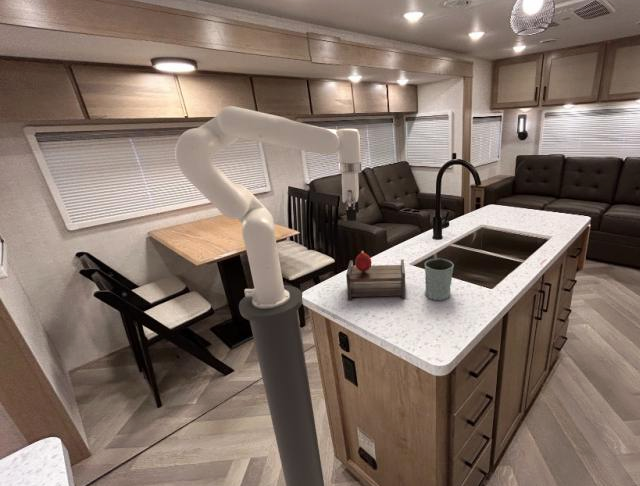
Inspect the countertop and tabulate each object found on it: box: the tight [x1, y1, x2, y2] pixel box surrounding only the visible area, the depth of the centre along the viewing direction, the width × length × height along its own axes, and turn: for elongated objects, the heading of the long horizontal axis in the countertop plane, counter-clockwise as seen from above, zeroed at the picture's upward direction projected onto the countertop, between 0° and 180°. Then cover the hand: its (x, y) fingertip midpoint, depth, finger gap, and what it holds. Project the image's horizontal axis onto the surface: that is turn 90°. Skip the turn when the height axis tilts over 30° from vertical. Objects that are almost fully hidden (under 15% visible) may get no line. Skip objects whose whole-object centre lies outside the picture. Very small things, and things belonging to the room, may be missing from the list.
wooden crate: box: [345, 259, 406, 301], centre depth 116 cm, size 20×12×10 cm, turn 92°
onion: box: [354, 250, 372, 272], centre depth 113 cm, size 6×6×8 cm
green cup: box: [424, 258, 455, 301], centre depth 113 cm, size 10×10×12 cm
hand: (353, 216), depth 115 cm, fingers open, 9 cm apart
